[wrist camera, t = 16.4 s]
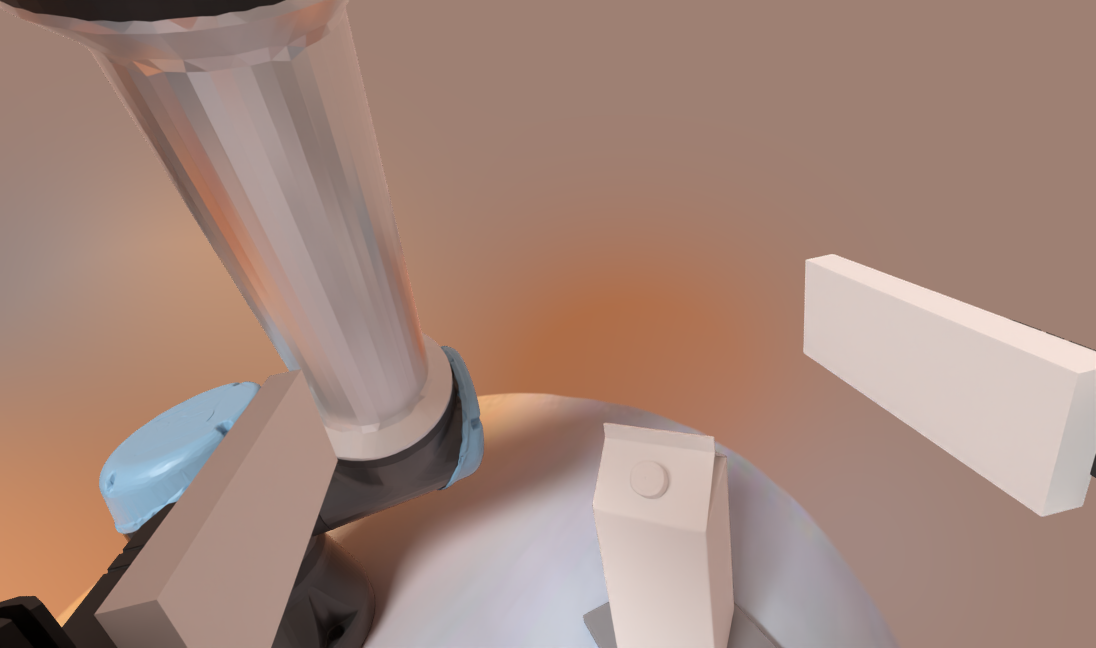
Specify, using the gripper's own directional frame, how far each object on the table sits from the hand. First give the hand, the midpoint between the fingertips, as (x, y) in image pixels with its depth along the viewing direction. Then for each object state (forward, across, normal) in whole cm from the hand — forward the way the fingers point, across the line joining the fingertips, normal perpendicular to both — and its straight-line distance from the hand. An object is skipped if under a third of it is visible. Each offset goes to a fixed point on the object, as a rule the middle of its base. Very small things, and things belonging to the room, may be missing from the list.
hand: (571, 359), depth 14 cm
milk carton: (+15, +6, -33) cm, 37 cm away
